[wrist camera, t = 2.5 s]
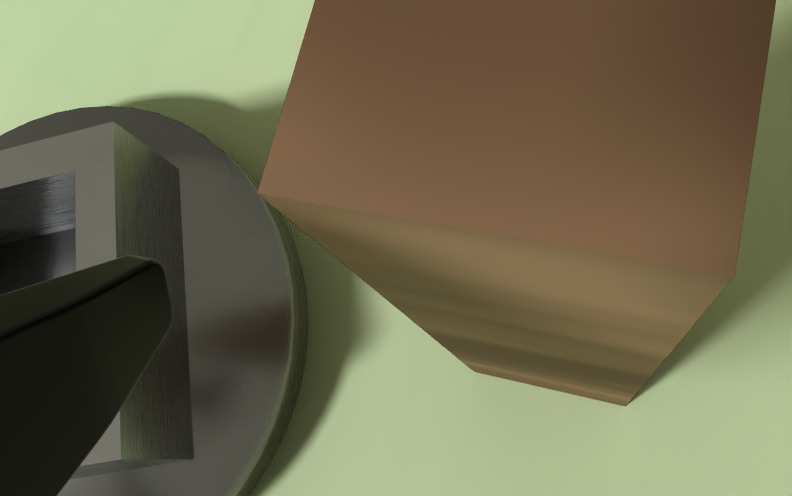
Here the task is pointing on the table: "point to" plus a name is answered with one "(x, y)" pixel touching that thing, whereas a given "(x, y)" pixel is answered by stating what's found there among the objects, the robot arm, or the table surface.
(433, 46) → the brown wooden square peg
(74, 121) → the rosette socket
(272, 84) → the table surface
